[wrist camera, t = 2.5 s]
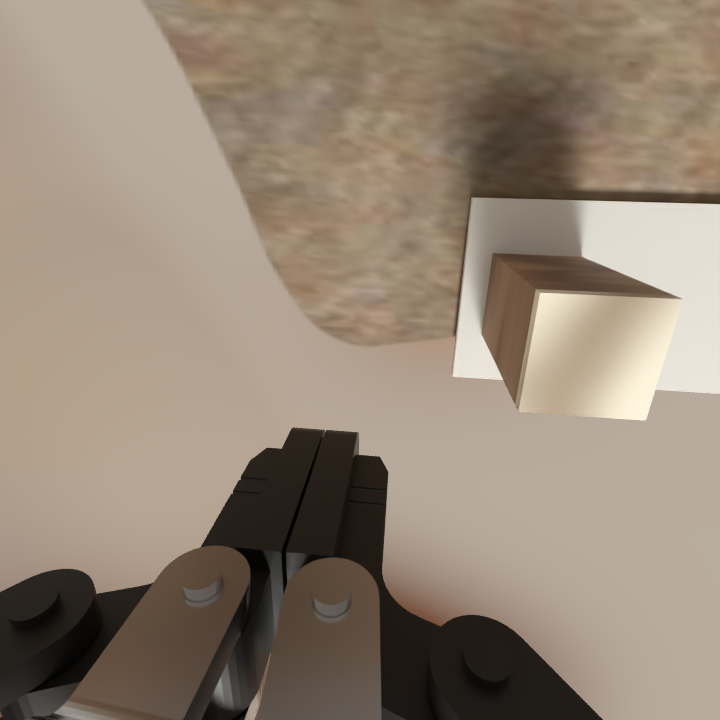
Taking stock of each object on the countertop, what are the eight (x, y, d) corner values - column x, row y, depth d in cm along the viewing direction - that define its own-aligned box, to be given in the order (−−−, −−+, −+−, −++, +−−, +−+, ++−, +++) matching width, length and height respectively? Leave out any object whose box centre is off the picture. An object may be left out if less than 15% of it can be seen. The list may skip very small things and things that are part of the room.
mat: (813, 206, 23) (823, 207, 23) (740, 391, 27) (747, 395, 27) (471, 197, 25) (472, 197, 24) (451, 373, 29) (452, 376, 28)
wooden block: (581, 256, 25) (683, 299, 16) (564, 339, 27) (645, 420, 17) (492, 253, 25) (540, 292, 16) (481, 334, 27) (518, 411, 18)
